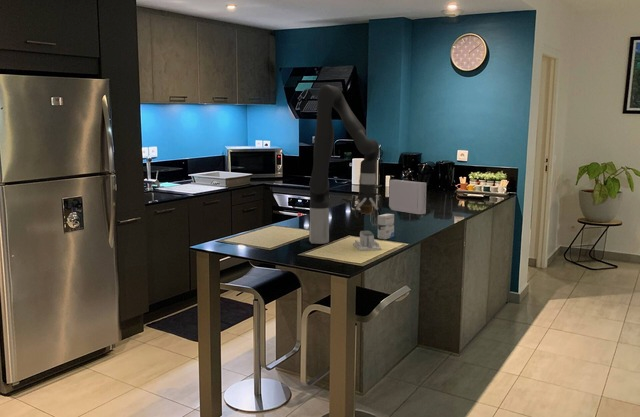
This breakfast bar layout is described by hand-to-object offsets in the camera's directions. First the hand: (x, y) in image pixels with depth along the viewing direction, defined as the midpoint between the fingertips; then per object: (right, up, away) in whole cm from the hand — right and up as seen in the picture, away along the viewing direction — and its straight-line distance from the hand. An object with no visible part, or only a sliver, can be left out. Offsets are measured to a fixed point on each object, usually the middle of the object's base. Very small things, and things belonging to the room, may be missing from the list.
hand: (366, 217), depth 265 cm
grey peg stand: (+1, -14, +3) cm, 14 cm away
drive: (0, -13, +2) cm, 13 cm away
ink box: (+12, -11, +25) cm, 29 cm away
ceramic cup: (+7, 0, +98) cm, 98 cm away
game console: (+35, +2, +108) cm, 113 cm away
